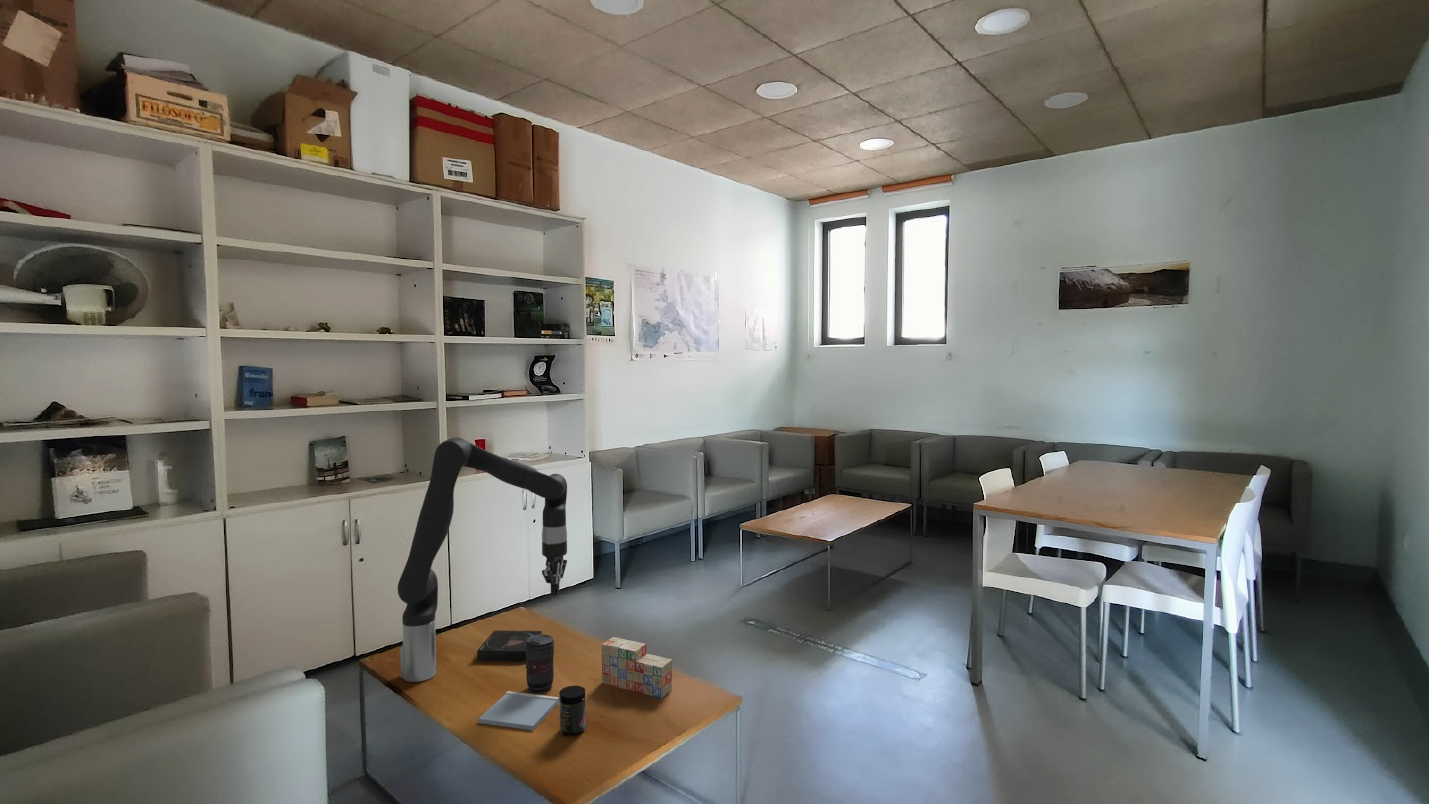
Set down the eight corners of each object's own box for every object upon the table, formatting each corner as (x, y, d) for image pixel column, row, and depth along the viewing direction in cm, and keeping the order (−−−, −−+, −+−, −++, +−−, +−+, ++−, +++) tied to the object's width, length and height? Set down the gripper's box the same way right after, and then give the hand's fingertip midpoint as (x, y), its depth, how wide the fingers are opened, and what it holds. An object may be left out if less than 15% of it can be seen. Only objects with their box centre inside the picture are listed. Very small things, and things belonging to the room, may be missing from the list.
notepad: (478, 723, 179) (478, 717, 179) (507, 696, 194) (507, 691, 194) (533, 730, 176) (533, 724, 176) (558, 702, 191) (558, 697, 190)
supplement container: (579, 738, 172) (579, 699, 172) (555, 735, 173) (554, 696, 173) (589, 724, 179) (589, 686, 178) (565, 722, 180) (565, 684, 180)
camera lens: (547, 696, 194) (546, 645, 193) (521, 693, 196) (520, 643, 195) (559, 683, 202) (558, 634, 201) (534, 680, 204) (533, 632, 203)
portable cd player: (529, 663, 217) (529, 651, 217) (477, 662, 217) (477, 650, 217) (543, 642, 233) (543, 631, 233) (494, 641, 233) (494, 630, 233)
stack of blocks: (672, 690, 198) (672, 649, 198) (661, 699, 193) (661, 657, 192) (613, 674, 208) (613, 635, 208) (601, 683, 203) (601, 643, 202)
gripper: (553, 533, 214) (553, 586, 215) (532, 544, 201) (533, 601, 202) (574, 534, 212) (575, 588, 213) (556, 545, 199) (556, 603, 200)
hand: (555, 594), depth 207 cm, fingers closed
